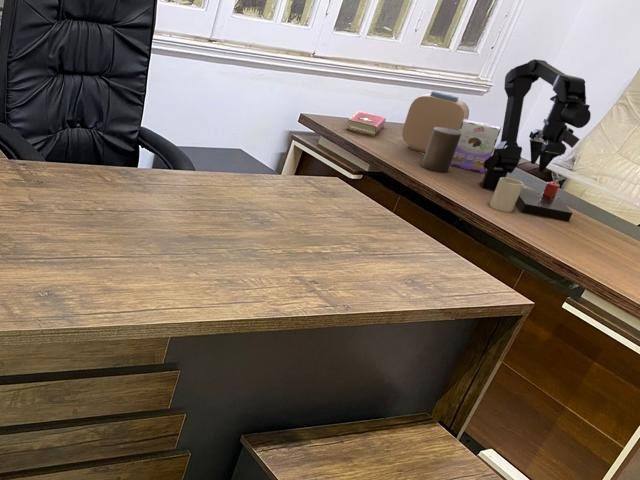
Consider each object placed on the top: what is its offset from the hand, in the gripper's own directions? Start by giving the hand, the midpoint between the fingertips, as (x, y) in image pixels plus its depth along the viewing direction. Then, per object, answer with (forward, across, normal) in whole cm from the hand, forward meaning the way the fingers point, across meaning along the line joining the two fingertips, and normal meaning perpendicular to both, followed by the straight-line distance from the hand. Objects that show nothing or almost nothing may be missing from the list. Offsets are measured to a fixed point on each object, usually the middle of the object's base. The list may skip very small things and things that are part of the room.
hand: (536, 167), depth 256 cm
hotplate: (+13, +2, -6) cm, 15 cm away
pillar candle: (+13, +30, +24) cm, 40 cm away
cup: (+13, -6, +8) cm, 16 cm away
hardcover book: (+13, +74, +45) cm, 88 cm away
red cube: (+10, +9, -11) cm, 17 cm away
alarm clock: (+13, +54, +23) cm, 61 cm away
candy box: (+13, +39, +10) cm, 43 cm away
